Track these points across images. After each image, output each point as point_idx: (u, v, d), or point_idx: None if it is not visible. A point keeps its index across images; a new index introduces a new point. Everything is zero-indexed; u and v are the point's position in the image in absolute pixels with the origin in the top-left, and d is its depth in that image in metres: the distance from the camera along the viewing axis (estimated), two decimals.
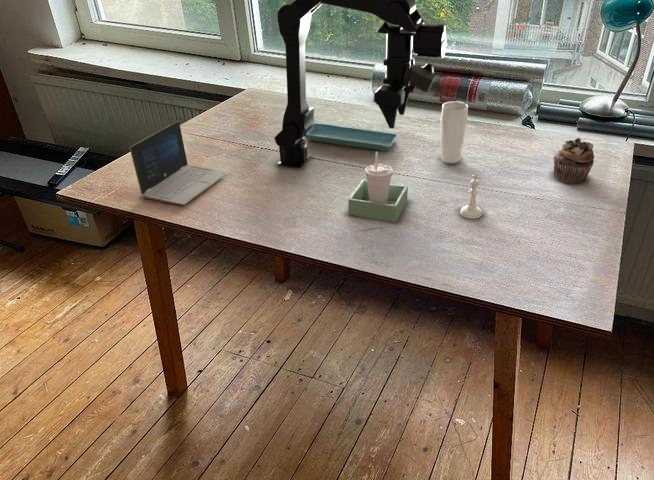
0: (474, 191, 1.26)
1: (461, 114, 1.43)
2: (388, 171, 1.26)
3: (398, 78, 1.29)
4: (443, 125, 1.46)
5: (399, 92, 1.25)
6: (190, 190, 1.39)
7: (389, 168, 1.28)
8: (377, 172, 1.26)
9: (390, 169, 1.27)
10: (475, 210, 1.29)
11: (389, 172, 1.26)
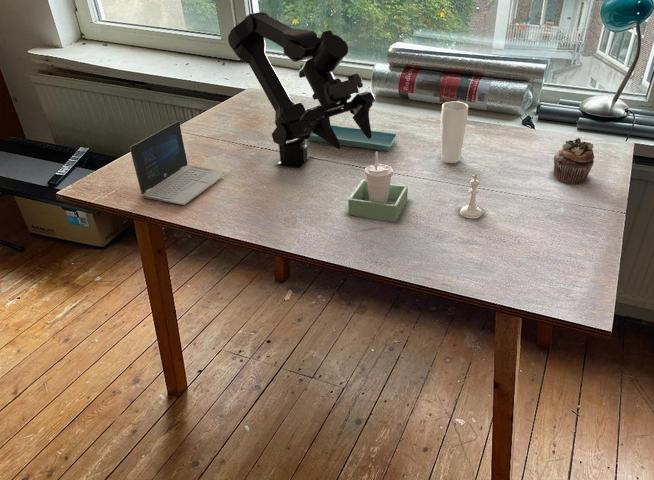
0: (474, 191, 1.26)
1: (461, 114, 1.43)
2: (388, 171, 1.26)
3: (324, 101, 1.28)
4: (443, 125, 1.46)
5: (311, 108, 1.23)
6: (190, 190, 1.39)
7: (389, 168, 1.28)
8: (377, 172, 1.26)
9: (390, 169, 1.27)
10: (475, 210, 1.29)
11: (389, 172, 1.26)
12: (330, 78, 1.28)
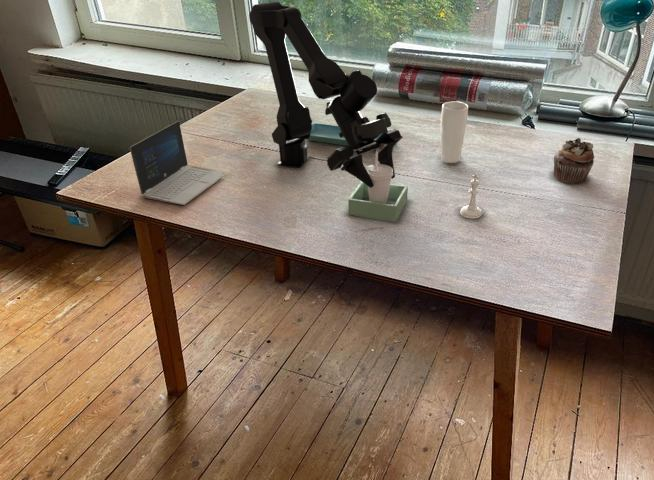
0: (474, 191, 1.26)
1: (461, 114, 1.43)
2: (388, 171, 1.26)
3: (351, 140, 1.26)
4: (443, 125, 1.46)
5: (339, 149, 1.21)
6: (190, 190, 1.39)
7: (389, 168, 1.28)
8: (377, 172, 1.26)
9: (390, 169, 1.27)
10: (475, 210, 1.29)
11: (389, 172, 1.26)
12: (358, 117, 1.26)
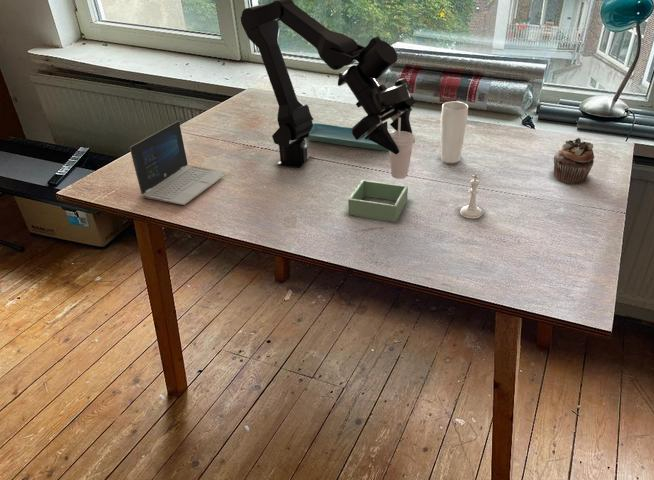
0: (474, 191, 1.26)
1: (461, 114, 1.43)
2: (411, 136, 1.28)
3: (372, 108, 1.26)
4: (443, 125, 1.46)
5: (367, 117, 1.21)
6: (190, 190, 1.39)
7: (410, 134, 1.29)
8: (401, 138, 1.27)
9: (411, 134, 1.29)
10: (475, 210, 1.29)
11: (412, 137, 1.28)
12: (376, 85, 1.26)
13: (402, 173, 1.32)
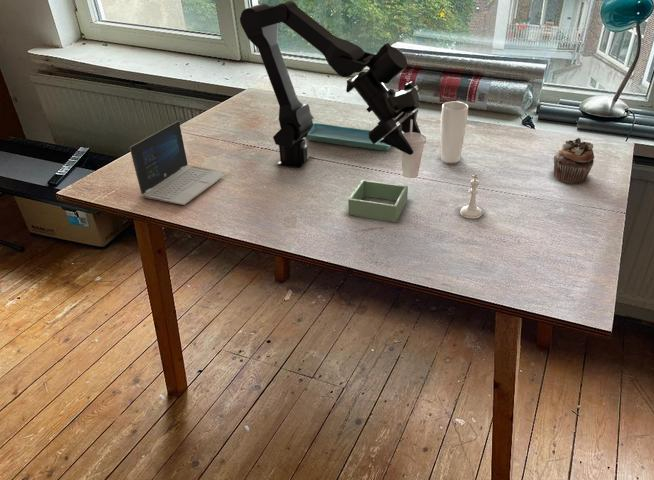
0: (474, 191, 1.26)
1: (461, 114, 1.43)
2: (422, 137, 1.34)
3: (385, 112, 1.30)
4: (443, 125, 1.46)
5: (384, 121, 1.25)
6: (190, 190, 1.39)
7: (420, 134, 1.35)
8: (413, 139, 1.32)
9: (421, 135, 1.34)
10: (475, 210, 1.29)
11: (423, 137, 1.33)
12: (386, 89, 1.30)
13: (415, 173, 1.37)
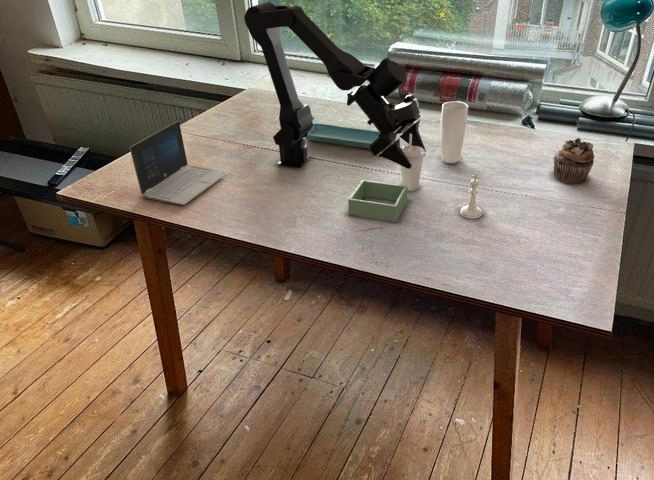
0: (474, 191, 1.26)
1: (461, 113, 1.43)
2: (421, 150, 1.35)
3: (385, 125, 1.32)
4: (443, 125, 1.46)
5: (385, 133, 1.27)
6: (190, 190, 1.39)
7: (419, 148, 1.37)
8: (413, 153, 1.34)
9: (421, 148, 1.36)
10: (475, 210, 1.29)
11: (423, 151, 1.35)
12: (386, 102, 1.32)
13: (414, 185, 1.39)
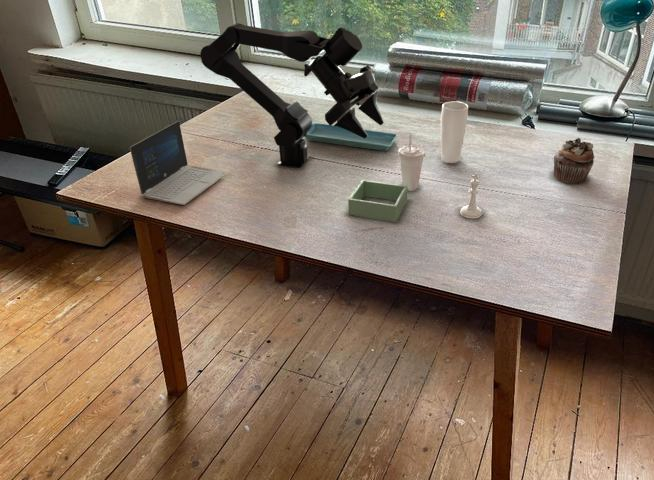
0: (474, 191, 1.26)
1: (461, 114, 1.43)
2: (421, 150, 1.35)
3: (341, 95, 1.34)
4: (443, 125, 1.46)
5: (339, 102, 1.29)
6: (190, 190, 1.39)
7: (419, 148, 1.37)
8: (413, 153, 1.34)
9: (421, 148, 1.36)
10: (475, 210, 1.29)
11: (423, 151, 1.35)
12: (342, 72, 1.34)
13: (414, 185, 1.39)
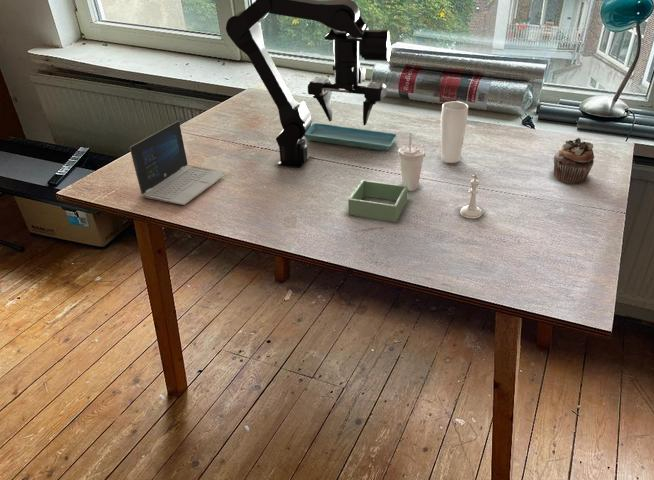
0: (474, 191, 1.26)
1: (461, 114, 1.43)
2: (421, 150, 1.35)
3: (358, 78, 1.37)
4: (443, 125, 1.46)
5: None
6: (190, 190, 1.39)
7: (419, 148, 1.37)
8: (413, 153, 1.34)
9: (421, 148, 1.36)
10: (475, 210, 1.29)
11: (423, 151, 1.35)
12: None
13: (414, 185, 1.39)
